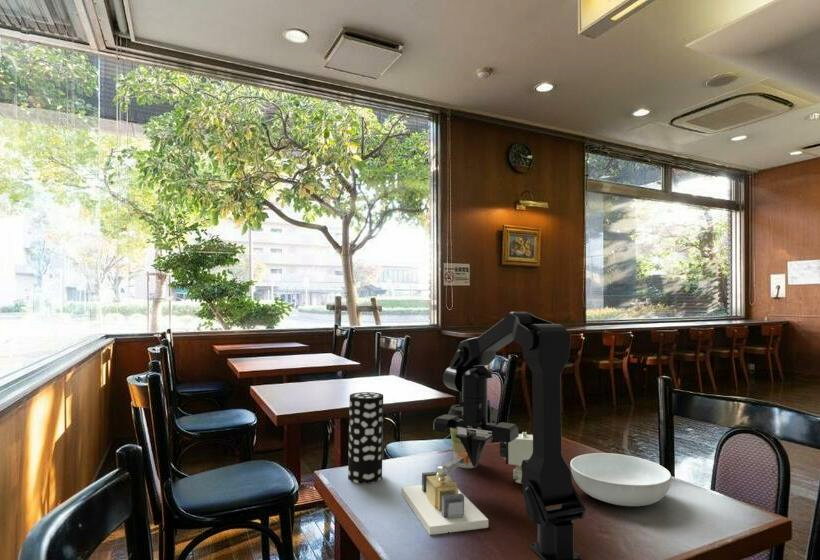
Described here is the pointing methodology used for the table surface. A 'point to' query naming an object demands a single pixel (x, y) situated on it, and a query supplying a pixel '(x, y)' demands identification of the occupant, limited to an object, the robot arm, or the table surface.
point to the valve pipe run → (443, 495)
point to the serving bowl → (620, 478)
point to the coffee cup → (456, 442)
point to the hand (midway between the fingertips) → (474, 466)
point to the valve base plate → (433, 516)
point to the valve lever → (452, 465)
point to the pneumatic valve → (517, 453)
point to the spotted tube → (365, 437)
